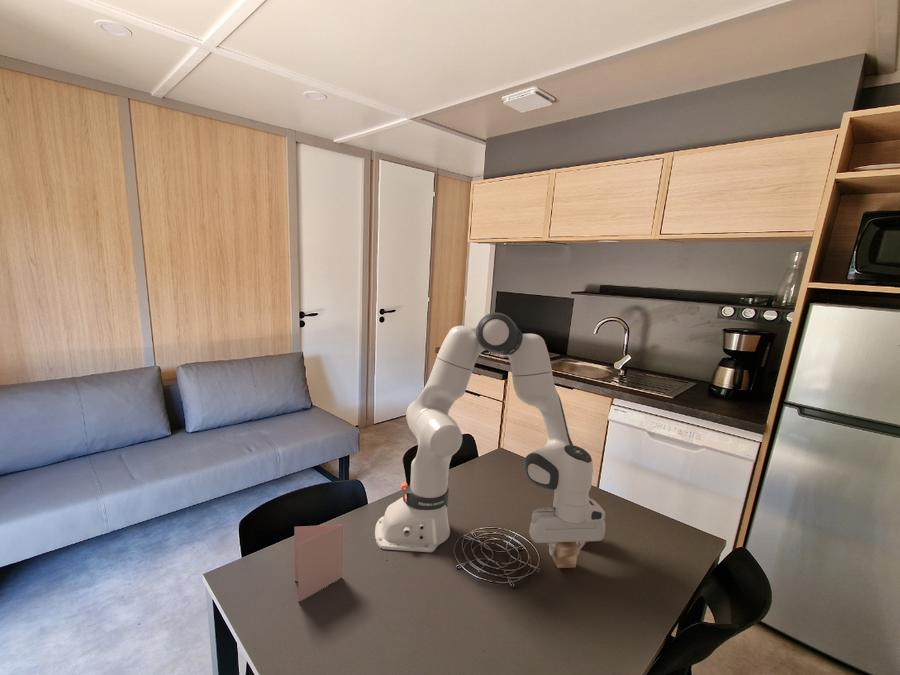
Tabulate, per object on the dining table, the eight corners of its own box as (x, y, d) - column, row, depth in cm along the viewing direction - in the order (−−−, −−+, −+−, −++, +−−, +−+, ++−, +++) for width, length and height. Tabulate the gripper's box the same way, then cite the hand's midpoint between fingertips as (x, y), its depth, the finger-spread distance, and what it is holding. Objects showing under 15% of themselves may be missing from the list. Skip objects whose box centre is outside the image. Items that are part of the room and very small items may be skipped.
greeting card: (342, 575, 101) (343, 522, 98) (339, 599, 94) (340, 542, 91) (295, 578, 99) (295, 524, 96) (288, 603, 92) (288, 545, 89)
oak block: (558, 568, 105) (560, 547, 104) (550, 554, 110) (553, 535, 109) (575, 567, 106) (578, 547, 105) (567, 554, 111) (570, 534, 110)
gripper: (537, 515, 101) (531, 563, 103) (611, 513, 104) (604, 560, 106) (528, 501, 107) (523, 547, 109) (599, 499, 110) (592, 544, 112)
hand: (563, 553), depth 108 cm, fingers closed on oak block, 5 cm apart
